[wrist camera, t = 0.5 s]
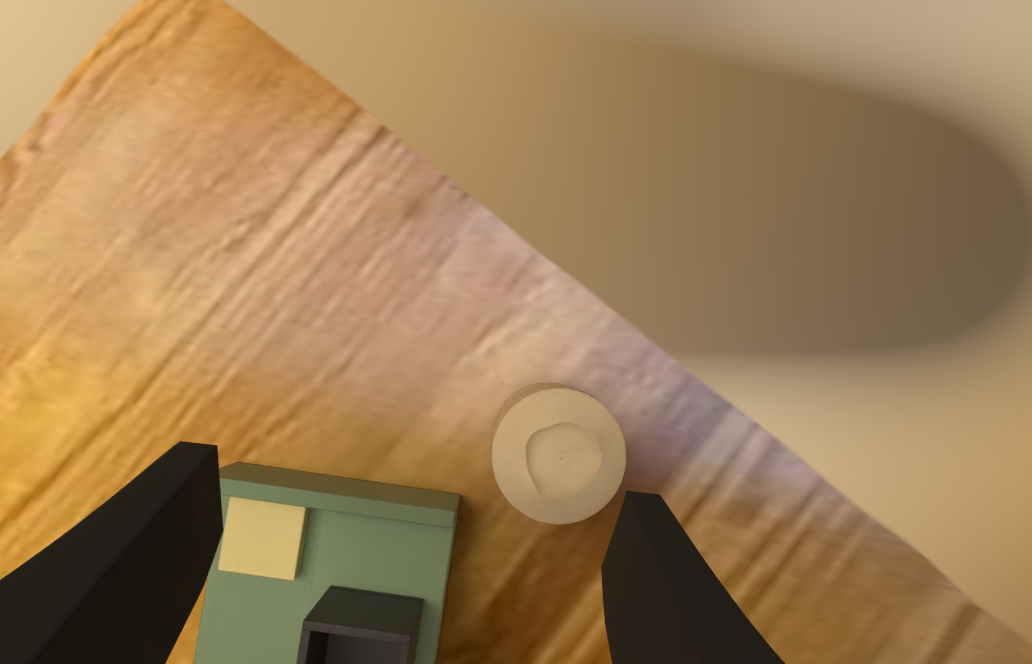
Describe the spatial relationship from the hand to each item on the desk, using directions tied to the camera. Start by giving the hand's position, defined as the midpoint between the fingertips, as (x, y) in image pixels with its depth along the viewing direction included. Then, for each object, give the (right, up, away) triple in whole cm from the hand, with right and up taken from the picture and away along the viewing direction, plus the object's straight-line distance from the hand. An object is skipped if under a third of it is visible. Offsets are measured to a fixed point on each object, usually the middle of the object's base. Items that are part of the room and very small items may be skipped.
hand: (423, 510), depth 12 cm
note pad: (-11, -7, +22) cm, 25 cm away
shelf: (-8, -12, +23) cm, 27 cm away
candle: (+3, -2, +24) cm, 24 cm away
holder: (-5, -12, +21) cm, 24 cm away
